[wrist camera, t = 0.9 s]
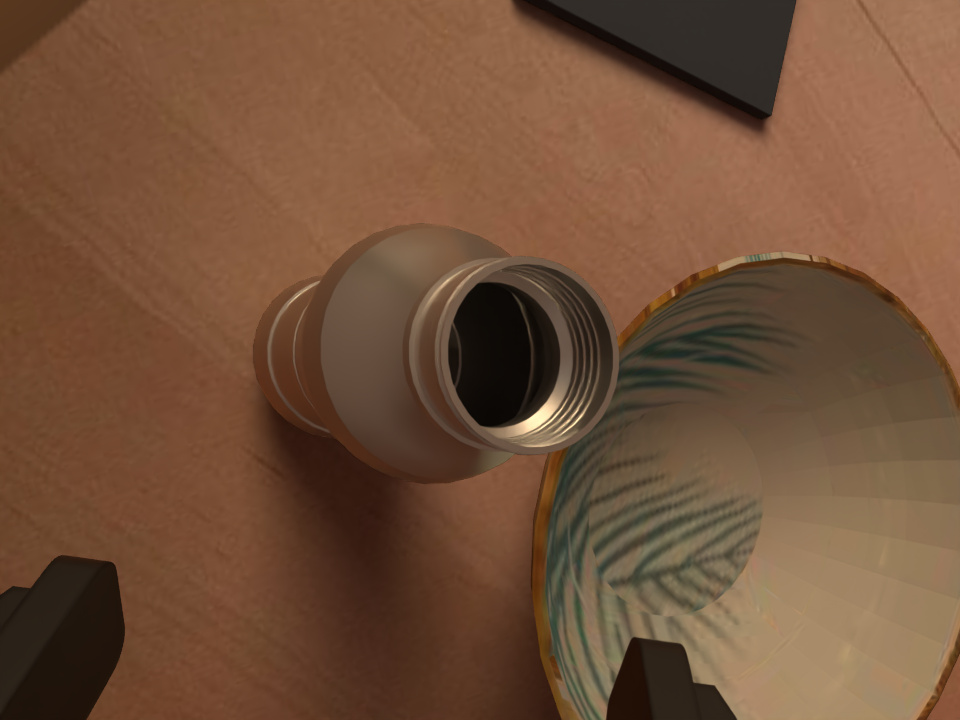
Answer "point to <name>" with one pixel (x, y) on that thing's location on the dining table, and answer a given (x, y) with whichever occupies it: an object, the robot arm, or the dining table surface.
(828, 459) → the bowl
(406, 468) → the silver metal bottle
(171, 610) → the dining table surface
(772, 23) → the mat
